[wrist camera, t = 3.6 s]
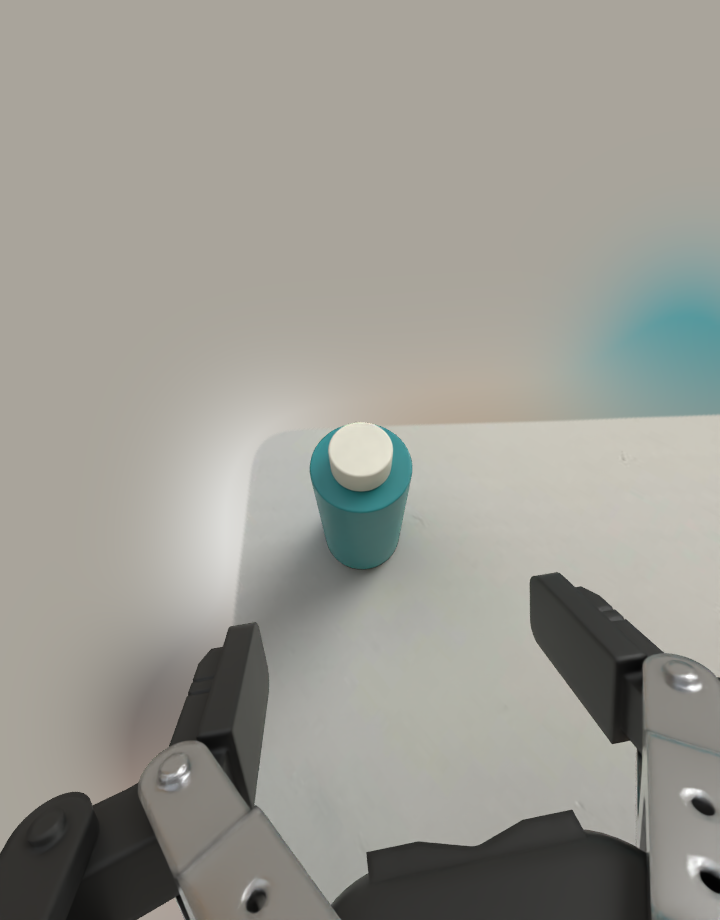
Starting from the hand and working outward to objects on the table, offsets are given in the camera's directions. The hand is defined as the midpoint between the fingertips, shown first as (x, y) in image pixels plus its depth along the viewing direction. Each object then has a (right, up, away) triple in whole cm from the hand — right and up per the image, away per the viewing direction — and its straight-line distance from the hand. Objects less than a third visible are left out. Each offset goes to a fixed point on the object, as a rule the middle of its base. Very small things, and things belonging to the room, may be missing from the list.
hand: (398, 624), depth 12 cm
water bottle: (-1, 0, +13) cm, 13 cm away
